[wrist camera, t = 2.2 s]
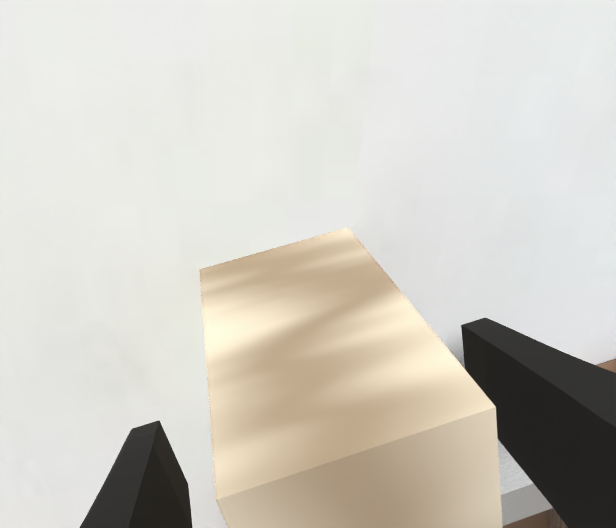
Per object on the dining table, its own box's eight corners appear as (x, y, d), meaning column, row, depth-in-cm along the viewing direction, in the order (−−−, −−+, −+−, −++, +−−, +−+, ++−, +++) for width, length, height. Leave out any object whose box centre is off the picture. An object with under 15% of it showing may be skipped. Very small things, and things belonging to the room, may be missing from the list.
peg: (348, 227, 15) (495, 406, 8) (370, 348, 17) (505, 579, 10) (199, 269, 15) (216, 500, 8) (240, 389, 17) (284, 661, 10)
